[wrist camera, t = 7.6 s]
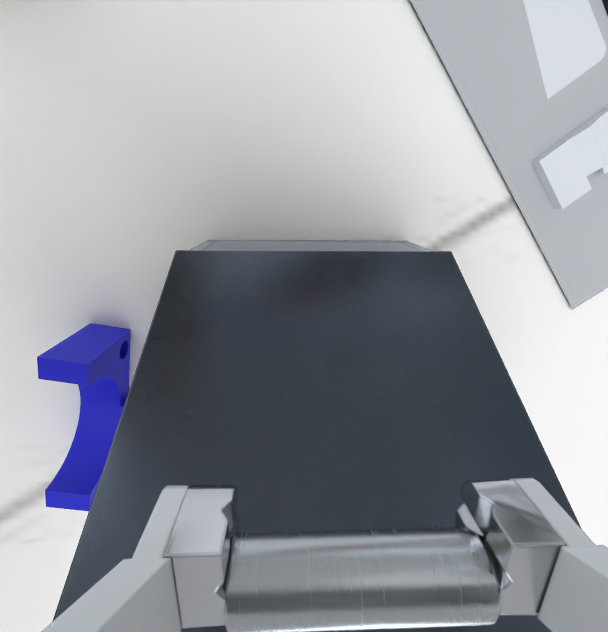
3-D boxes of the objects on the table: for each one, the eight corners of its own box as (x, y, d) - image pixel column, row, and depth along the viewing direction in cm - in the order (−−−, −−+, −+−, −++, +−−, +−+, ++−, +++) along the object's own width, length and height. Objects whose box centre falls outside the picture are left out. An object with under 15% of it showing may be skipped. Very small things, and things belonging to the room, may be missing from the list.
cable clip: (143, 455, 31) (110, 513, 25) (91, 449, 31) (46, 506, 25) (150, 332, 27) (113, 368, 22) (90, 323, 27) (37, 357, 21)
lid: (640, 700, 9) (878, 760, 5) (33, 728, 8) (-166, 816, 5) (446, 262, 19) (481, 184, 16) (179, 261, 19) (152, 180, 15)
